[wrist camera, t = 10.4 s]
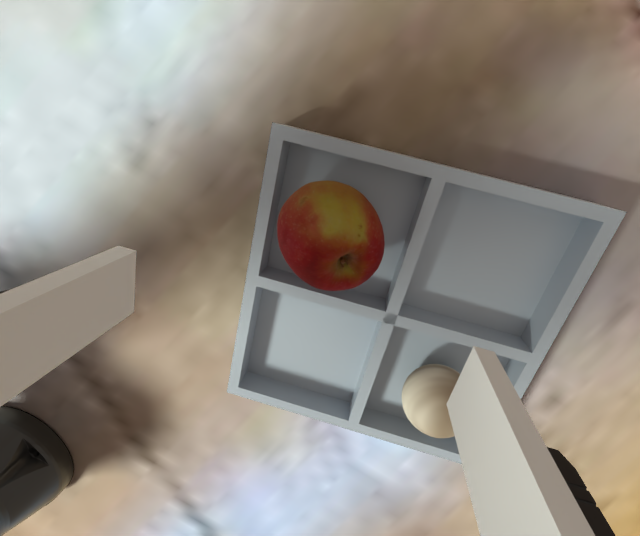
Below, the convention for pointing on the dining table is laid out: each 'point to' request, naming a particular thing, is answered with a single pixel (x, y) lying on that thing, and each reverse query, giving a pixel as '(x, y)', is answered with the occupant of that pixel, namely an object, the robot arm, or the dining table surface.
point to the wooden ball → (430, 399)
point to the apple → (330, 235)
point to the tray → (408, 285)
